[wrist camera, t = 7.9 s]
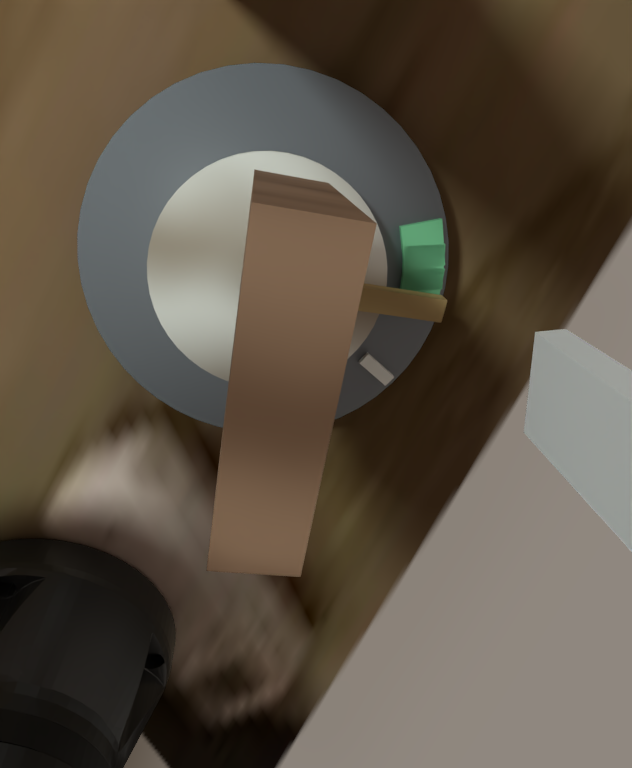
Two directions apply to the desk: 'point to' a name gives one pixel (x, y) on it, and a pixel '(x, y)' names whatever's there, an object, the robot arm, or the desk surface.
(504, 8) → the desk surface
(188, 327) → the dial
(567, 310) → the desk surface
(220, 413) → the plate
